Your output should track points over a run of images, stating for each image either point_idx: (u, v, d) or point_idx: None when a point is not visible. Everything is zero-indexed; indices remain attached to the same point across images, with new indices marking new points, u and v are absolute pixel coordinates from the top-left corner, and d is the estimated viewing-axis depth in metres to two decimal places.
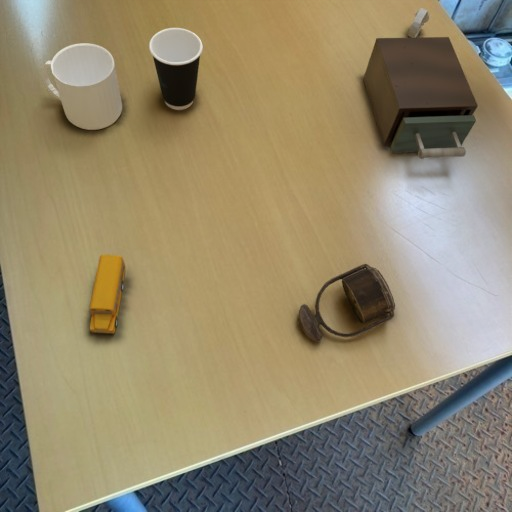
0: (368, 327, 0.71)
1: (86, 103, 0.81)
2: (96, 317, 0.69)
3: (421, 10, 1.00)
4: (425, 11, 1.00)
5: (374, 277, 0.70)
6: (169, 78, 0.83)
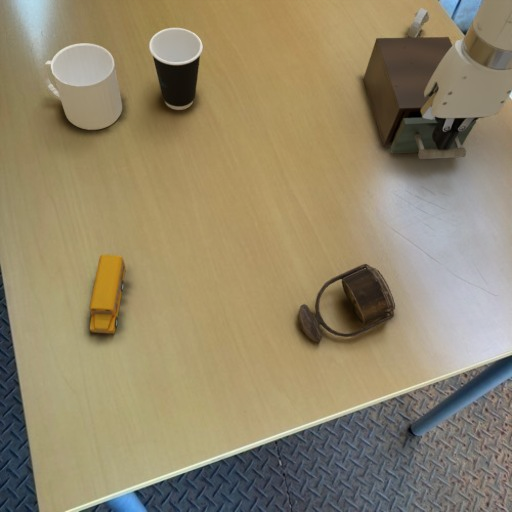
0: (368, 327, 0.71)
1: (86, 103, 0.81)
2: (96, 317, 0.69)
3: (421, 10, 1.00)
4: (425, 11, 1.00)
5: (374, 277, 0.70)
6: (169, 78, 0.83)
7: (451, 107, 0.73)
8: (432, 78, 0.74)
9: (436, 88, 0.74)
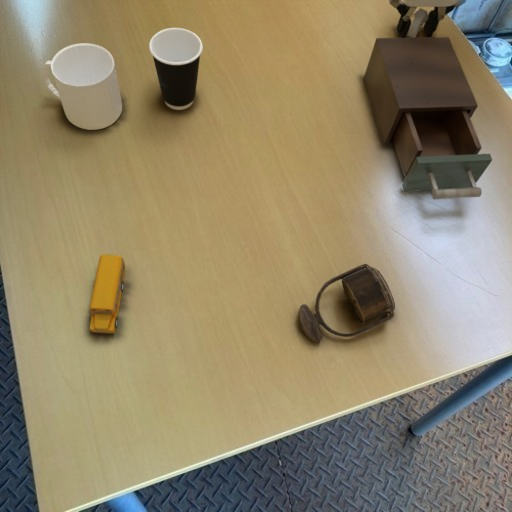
0: (368, 327, 0.71)
1: (86, 103, 0.81)
2: (96, 317, 0.69)
3: (420, 10, 1.00)
4: (424, 11, 1.00)
5: (374, 277, 0.70)
6: (169, 78, 0.83)
7: None
8: None
9: None
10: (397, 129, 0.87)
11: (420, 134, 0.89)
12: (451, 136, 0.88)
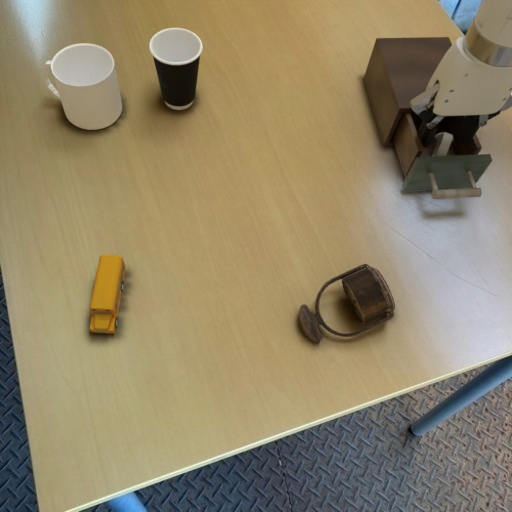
0: (368, 327, 0.71)
1: (86, 103, 0.81)
2: (96, 317, 0.69)
3: (445, 136, 0.82)
4: (450, 137, 0.82)
5: (374, 277, 0.70)
6: (169, 78, 0.83)
7: (453, 105, 0.73)
8: (433, 76, 0.73)
9: None
10: (397, 129, 0.87)
11: None
12: None
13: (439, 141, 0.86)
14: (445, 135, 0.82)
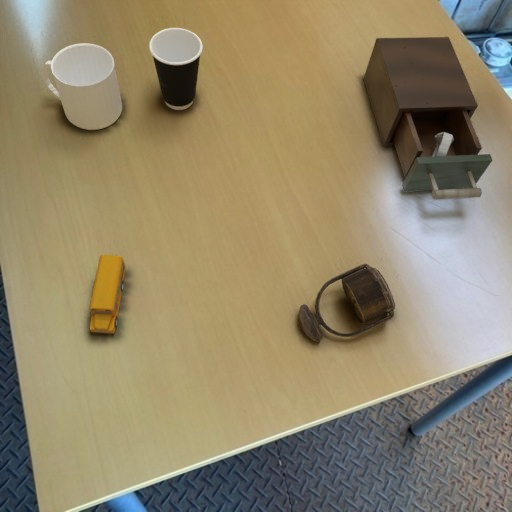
0: (368, 327, 0.71)
1: (86, 103, 0.81)
2: (96, 317, 0.69)
3: (445, 136, 0.82)
4: (450, 137, 0.82)
5: (374, 277, 0.70)
6: (169, 78, 0.83)
7: None
8: None
9: None
10: (397, 129, 0.87)
11: (420, 134, 0.89)
12: None
13: (439, 141, 0.86)
14: (445, 135, 0.82)
